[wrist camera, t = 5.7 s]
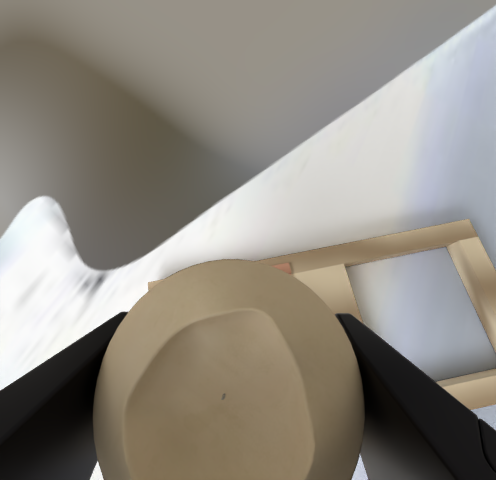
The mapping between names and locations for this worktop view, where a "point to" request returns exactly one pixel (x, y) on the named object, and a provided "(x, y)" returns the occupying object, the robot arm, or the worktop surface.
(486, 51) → the worktop surface
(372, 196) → the worktop surface
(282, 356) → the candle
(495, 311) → the rail frame
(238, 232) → the worktop surface
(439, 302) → the worktop surface
